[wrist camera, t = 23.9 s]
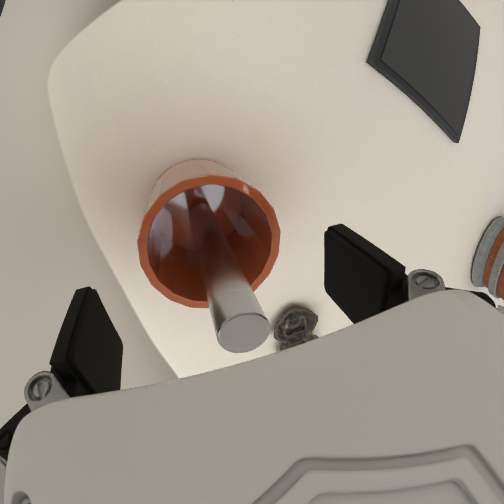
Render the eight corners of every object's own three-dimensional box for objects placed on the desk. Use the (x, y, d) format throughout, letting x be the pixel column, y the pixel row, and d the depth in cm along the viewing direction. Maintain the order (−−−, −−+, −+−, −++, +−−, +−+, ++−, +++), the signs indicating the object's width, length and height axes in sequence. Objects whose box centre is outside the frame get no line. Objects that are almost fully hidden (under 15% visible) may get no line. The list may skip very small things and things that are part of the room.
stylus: (185, 219, 21) (210, 350, 9) (192, 197, 21) (228, 308, 8) (207, 225, 22) (258, 356, 10) (214, 204, 21) (279, 317, 9)
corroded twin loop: (278, 362, 31) (281, 368, 31) (266, 312, 28) (270, 319, 27) (317, 346, 32) (320, 352, 31) (312, 296, 28) (317, 301, 28)
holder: (138, 239, 21) (126, 293, 14) (166, 145, 19) (162, 154, 12) (225, 261, 24) (249, 318, 17) (258, 176, 22) (301, 202, 15)
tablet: (366, 62, 20) (372, 61, 19) (403, -50, 13) (408, -52, 12) (453, 142, 26) (459, 143, 25) (476, 27, 19) (480, 27, 18)
